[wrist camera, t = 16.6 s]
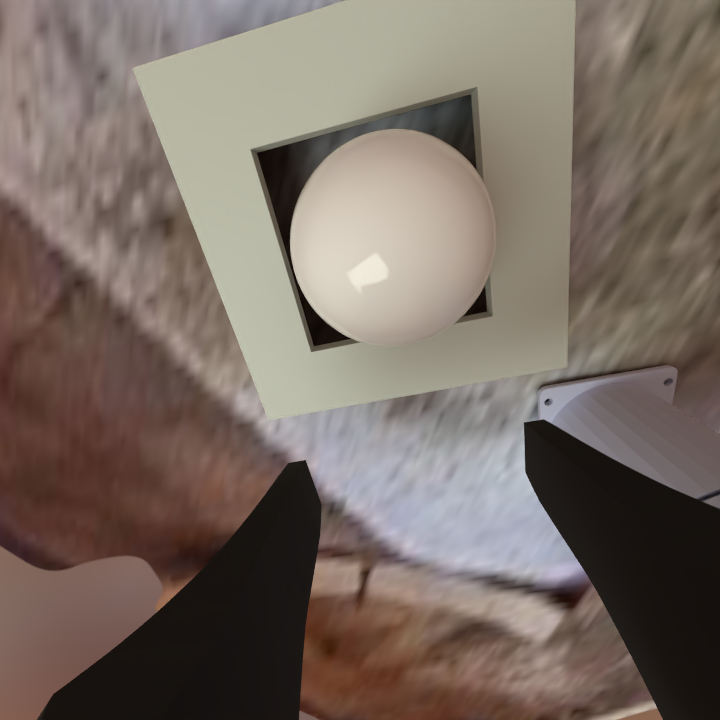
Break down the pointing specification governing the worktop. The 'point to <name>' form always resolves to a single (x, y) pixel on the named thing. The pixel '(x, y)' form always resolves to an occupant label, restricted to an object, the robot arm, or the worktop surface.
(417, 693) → the worktop surface
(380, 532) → the worktop surface
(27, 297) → the worktop surface
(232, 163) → the square bulb holder
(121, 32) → the worktop surface
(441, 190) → the lightbulb
